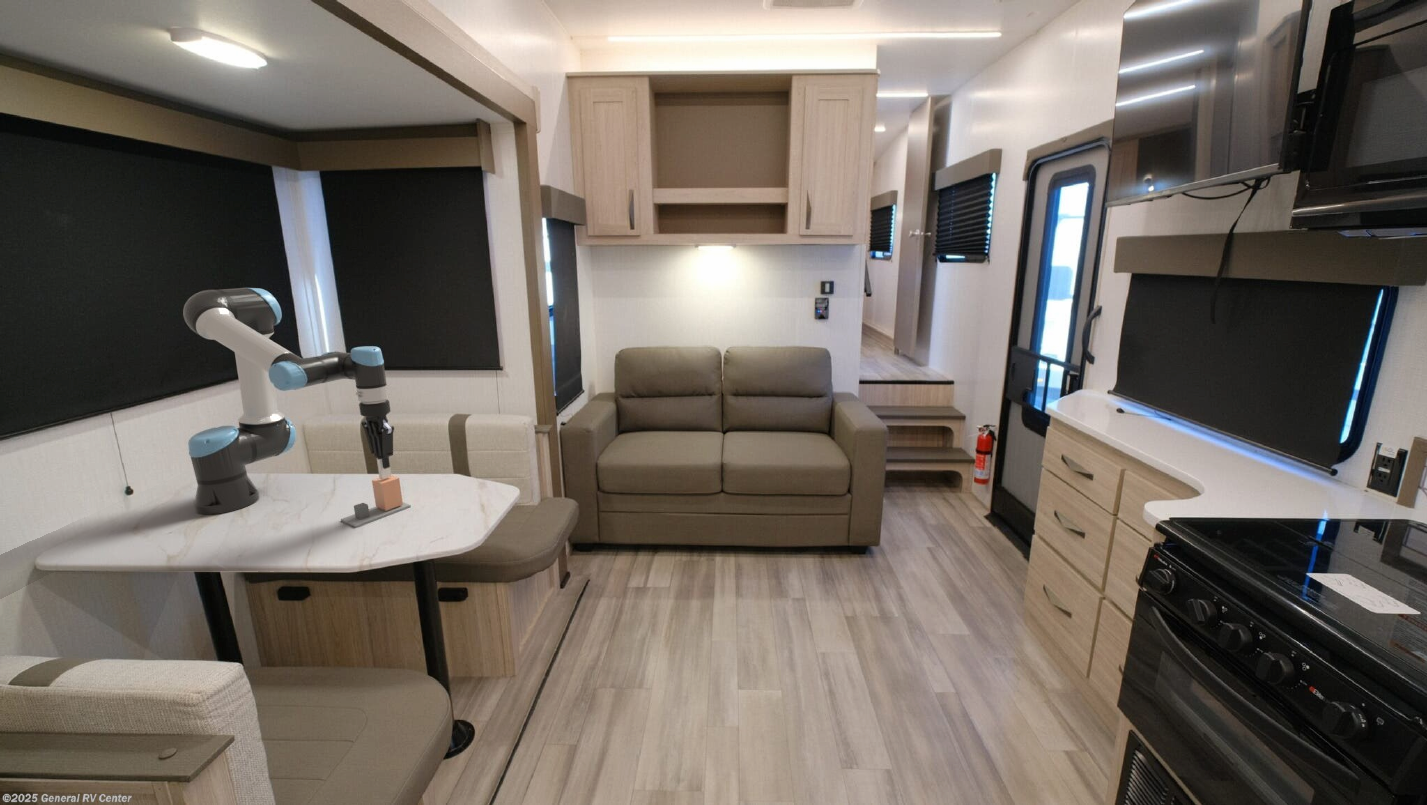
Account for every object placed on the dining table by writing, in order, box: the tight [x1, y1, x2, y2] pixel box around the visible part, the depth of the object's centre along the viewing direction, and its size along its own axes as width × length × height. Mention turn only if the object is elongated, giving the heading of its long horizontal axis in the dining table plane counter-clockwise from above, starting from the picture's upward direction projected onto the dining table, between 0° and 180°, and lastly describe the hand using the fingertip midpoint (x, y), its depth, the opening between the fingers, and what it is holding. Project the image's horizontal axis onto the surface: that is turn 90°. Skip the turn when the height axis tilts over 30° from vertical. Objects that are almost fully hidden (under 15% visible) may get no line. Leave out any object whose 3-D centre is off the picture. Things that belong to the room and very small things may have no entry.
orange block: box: [371, 474, 403, 511], centre depth 170 cm, size 5×5×9 cm
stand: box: [340, 502, 412, 528], centre depth 167 cm, size 8×16×9 cm, turn 149°
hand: (385, 477), depth 169 cm, fingers closed
